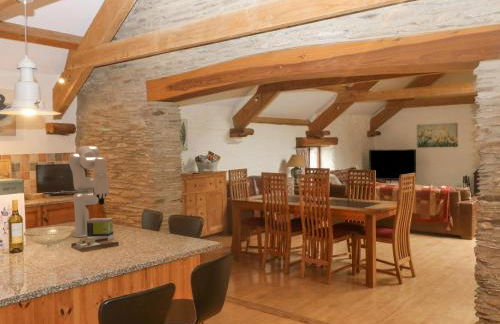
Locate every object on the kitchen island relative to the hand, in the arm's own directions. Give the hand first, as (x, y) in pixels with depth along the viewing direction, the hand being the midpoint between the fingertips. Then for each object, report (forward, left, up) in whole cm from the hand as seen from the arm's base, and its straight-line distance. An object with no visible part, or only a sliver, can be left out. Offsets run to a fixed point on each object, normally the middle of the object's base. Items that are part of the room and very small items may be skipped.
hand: (101, 204), depth 299 cm
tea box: (-17, +6, -27) cm, 33 cm away
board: (0, -5, -27) cm, 27 cm away
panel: (0, -9, -26) cm, 27 cm away
